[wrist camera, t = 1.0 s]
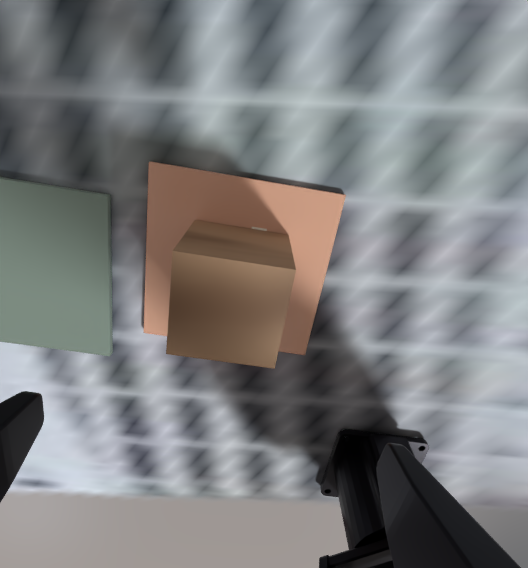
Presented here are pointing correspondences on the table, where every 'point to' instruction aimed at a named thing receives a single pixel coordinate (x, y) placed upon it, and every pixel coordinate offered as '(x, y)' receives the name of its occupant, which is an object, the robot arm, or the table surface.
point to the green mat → (55, 267)
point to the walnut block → (229, 294)
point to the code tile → (243, 213)
